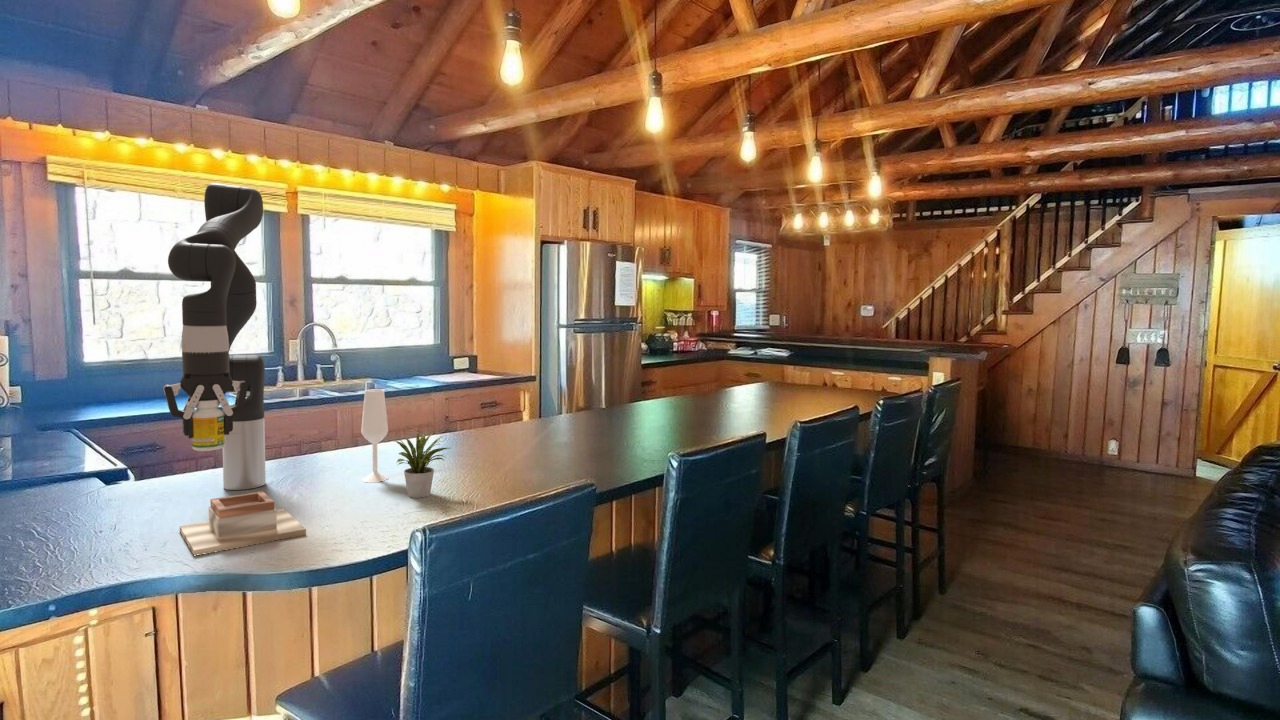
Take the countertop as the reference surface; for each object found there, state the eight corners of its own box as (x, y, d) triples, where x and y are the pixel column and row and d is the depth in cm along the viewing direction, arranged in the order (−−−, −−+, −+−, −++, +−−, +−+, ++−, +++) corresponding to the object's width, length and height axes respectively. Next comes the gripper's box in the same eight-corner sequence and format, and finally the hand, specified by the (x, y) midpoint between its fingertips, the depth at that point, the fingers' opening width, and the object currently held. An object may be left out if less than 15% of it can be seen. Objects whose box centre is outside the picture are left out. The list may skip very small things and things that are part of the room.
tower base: (179, 531, 133) (178, 498, 133) (283, 514, 146) (283, 483, 146) (193, 556, 121) (192, 520, 120) (306, 534, 133) (305, 501, 133)
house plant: (411, 508, 152) (411, 438, 151) (373, 498, 159) (372, 431, 158) (458, 494, 164) (458, 429, 163) (421, 485, 171) (421, 423, 170)
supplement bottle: (194, 446, 129) (193, 397, 128) (226, 444, 132) (225, 396, 131) (189, 452, 125) (187, 402, 124) (222, 450, 127) (221, 401, 126)
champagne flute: (379, 474, 181) (378, 388, 180) (393, 478, 177) (393, 390, 176) (356, 479, 176) (355, 390, 174) (370, 483, 172) (370, 392, 170)
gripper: (244, 346, 134) (246, 428, 135) (157, 348, 124) (160, 436, 126) (252, 349, 128) (254, 435, 130) (161, 351, 119) (164, 444, 120)
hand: (208, 435), depth 128 cm, fingers closed on supplement bottle, 5 cm apart
